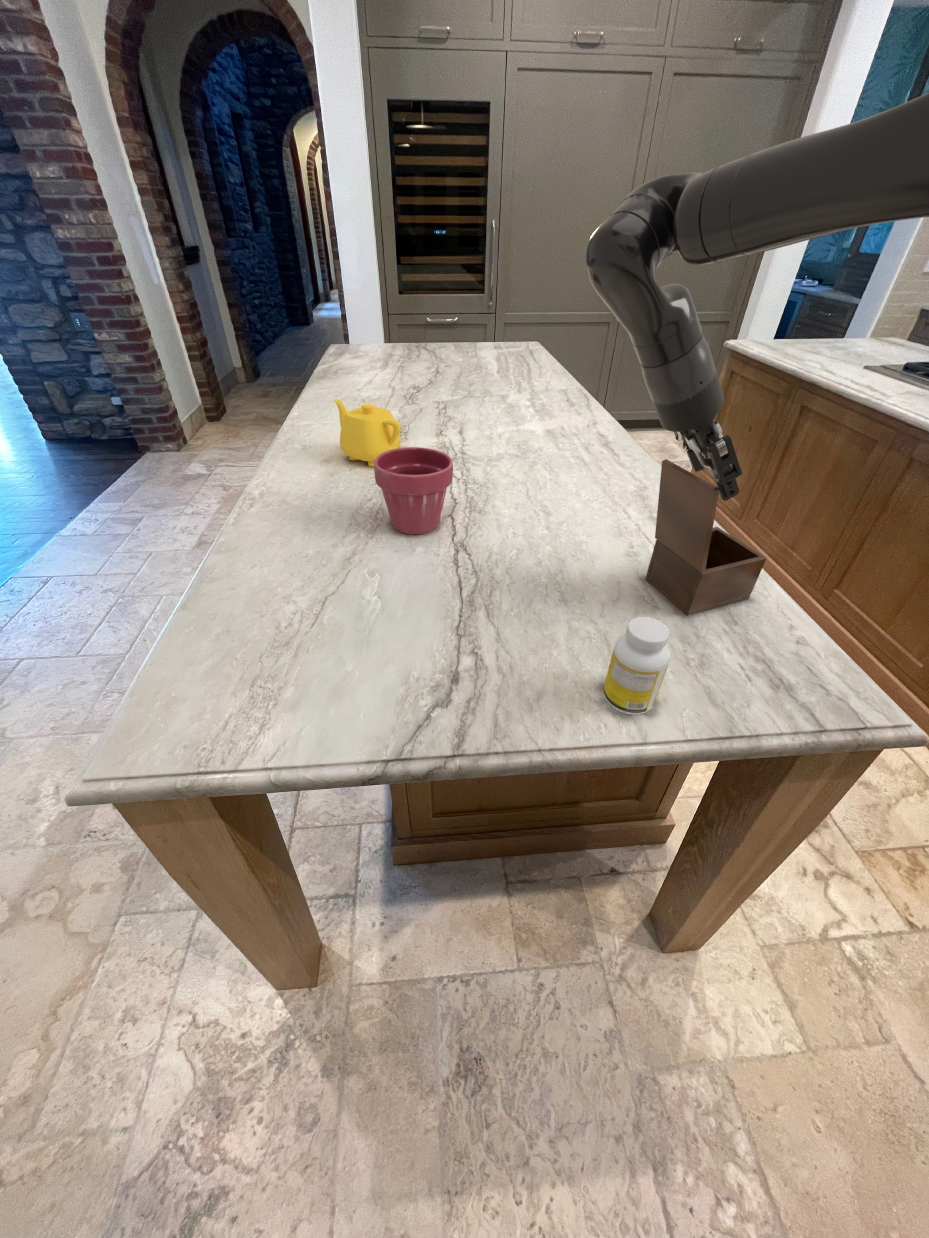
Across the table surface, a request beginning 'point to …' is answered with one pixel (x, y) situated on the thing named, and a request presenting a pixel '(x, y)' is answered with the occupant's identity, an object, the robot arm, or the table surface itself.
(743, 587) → the box
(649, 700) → the pill bottle
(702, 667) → the table surface
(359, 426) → the teapot
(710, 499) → the lid
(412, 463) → the flower pot
